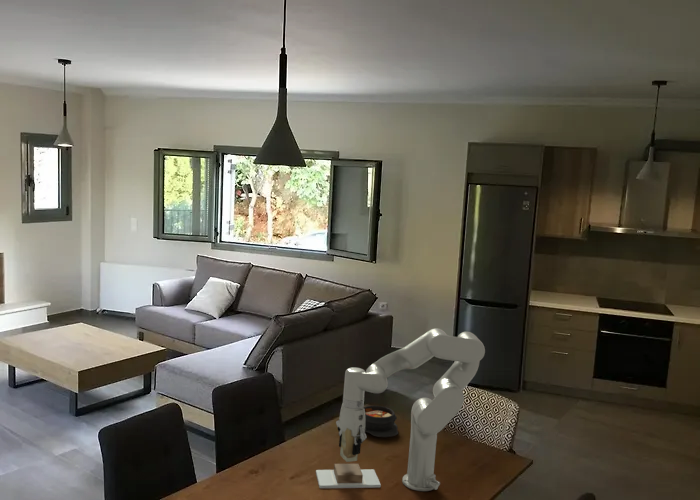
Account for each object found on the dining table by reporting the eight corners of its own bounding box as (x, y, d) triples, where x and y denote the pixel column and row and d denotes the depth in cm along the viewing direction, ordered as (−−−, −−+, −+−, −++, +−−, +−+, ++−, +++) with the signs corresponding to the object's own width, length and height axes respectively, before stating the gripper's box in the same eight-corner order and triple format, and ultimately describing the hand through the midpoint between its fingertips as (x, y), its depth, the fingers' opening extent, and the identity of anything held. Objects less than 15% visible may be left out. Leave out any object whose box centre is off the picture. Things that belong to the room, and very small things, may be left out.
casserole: (346, 420, 285) (347, 402, 284) (383, 417, 292) (384, 400, 291) (368, 443, 262) (370, 423, 261) (408, 439, 269) (409, 420, 268)
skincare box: (339, 455, 229) (342, 423, 228) (350, 453, 231) (352, 421, 230) (346, 462, 223) (349, 429, 222) (357, 461, 225) (360, 428, 224)
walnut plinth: (357, 471, 233) (358, 463, 233) (362, 482, 224) (362, 474, 224) (333, 471, 231) (334, 463, 231) (337, 483, 223) (337, 475, 222)
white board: (373, 471, 236) (374, 469, 236) (380, 487, 224) (380, 484, 224) (315, 472, 232) (315, 469, 232) (319, 488, 220) (319, 485, 220)
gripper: (377, 408, 221) (372, 457, 222) (346, 393, 234) (342, 439, 236) (360, 412, 216) (356, 461, 218) (330, 396, 229) (326, 443, 231)
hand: (349, 449), depth 227 cm, fingers closed on skincare box, 7 cm apart
